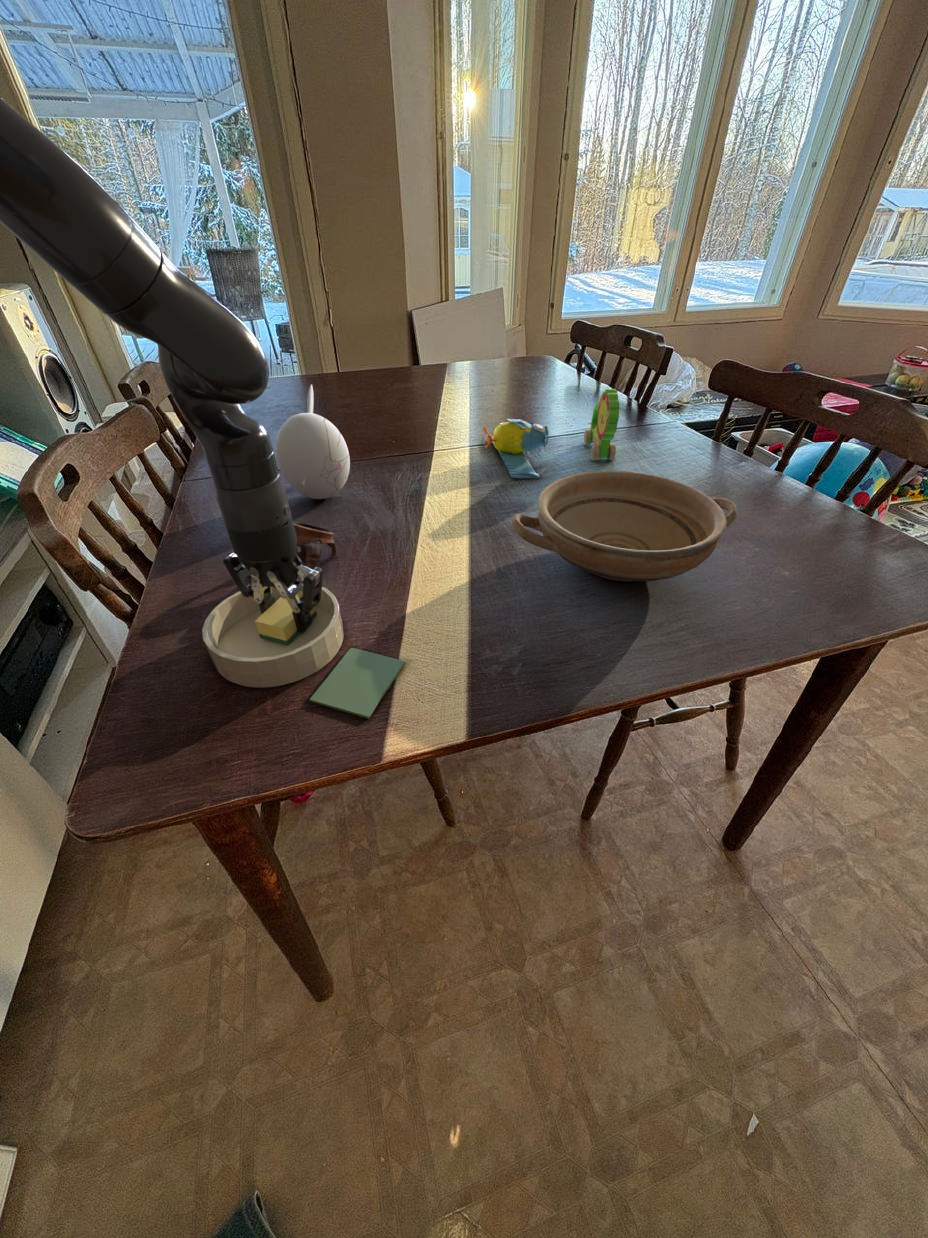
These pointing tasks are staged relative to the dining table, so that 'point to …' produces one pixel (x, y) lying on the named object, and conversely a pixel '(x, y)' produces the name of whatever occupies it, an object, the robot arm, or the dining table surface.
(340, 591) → the dining table surface
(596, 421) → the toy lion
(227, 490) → the robot arm
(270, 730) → the dining table surface
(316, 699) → the mat
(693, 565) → the ceramic bowl
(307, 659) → the wash bowl
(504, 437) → the toy airplane
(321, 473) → the spiked white egg
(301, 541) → the pottery mug
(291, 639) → the sponge
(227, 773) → the dining table surface
